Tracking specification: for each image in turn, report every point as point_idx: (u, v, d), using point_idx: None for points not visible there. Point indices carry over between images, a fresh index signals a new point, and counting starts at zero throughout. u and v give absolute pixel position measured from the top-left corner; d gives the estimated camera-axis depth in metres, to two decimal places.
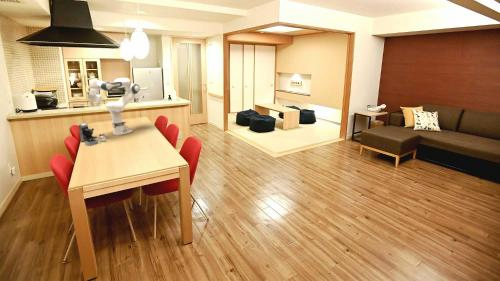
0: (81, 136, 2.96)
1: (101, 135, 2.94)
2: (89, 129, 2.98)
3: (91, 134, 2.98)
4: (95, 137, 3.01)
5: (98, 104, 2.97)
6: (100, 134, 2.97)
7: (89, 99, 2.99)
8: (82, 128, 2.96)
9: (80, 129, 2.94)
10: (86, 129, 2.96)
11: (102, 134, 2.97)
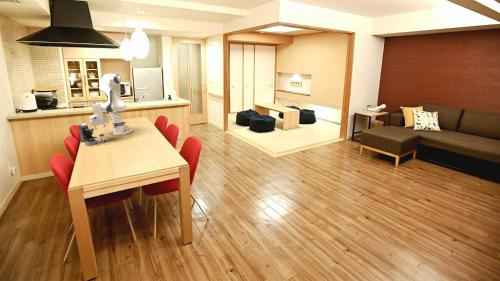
0: (81, 136, 2.96)
1: (101, 135, 2.94)
2: (89, 129, 2.98)
3: (91, 134, 2.98)
4: (95, 137, 3.01)
5: None
6: (100, 134, 2.97)
7: (94, 124, 2.86)
8: (82, 128, 2.96)
9: (80, 129, 2.94)
10: (86, 129, 2.96)
11: (102, 134, 2.97)
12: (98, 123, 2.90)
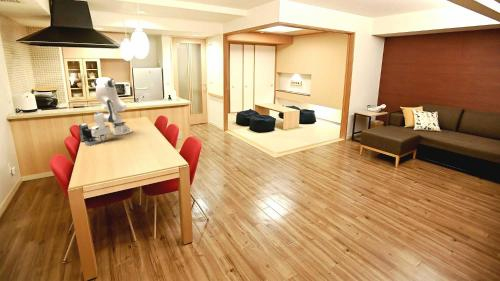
0: (81, 136, 2.96)
1: (101, 135, 2.94)
2: (89, 129, 2.98)
3: (91, 134, 2.98)
4: (95, 137, 3.01)
5: (105, 136, 3.01)
6: None
7: (96, 134, 2.90)
8: (82, 128, 2.96)
9: (80, 129, 2.94)
10: (86, 129, 2.96)
11: None
12: (100, 133, 2.93)
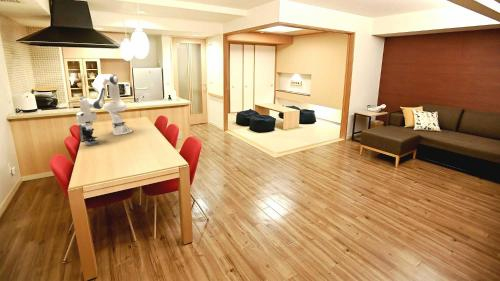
0: (81, 136, 2.96)
1: (87, 122, 2.80)
2: None
3: (91, 134, 2.98)
4: (95, 137, 3.01)
5: (91, 123, 2.86)
6: None
7: (81, 121, 2.75)
8: (82, 128, 2.96)
9: (80, 129, 2.94)
10: (86, 129, 2.96)
11: None
12: (86, 120, 2.79)
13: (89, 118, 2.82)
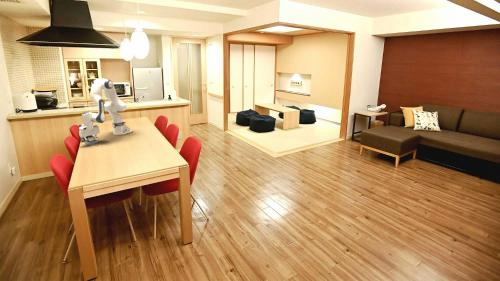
0: None
1: (90, 137, 2.85)
2: None
3: None
4: None
5: (95, 136, 2.92)
6: (89, 136, 2.87)
7: (84, 135, 2.80)
8: None
9: None
10: None
11: (91, 136, 2.87)
12: (88, 134, 2.83)
13: (92, 132, 2.86)
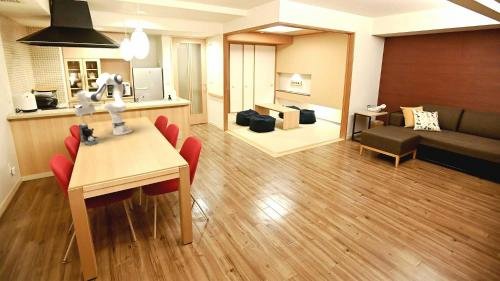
0: (81, 136, 2.96)
1: (89, 137, 2.85)
2: (89, 129, 2.98)
3: (91, 134, 2.98)
4: (95, 137, 3.01)
5: None
6: (88, 136, 2.87)
7: (80, 113, 2.83)
8: (82, 128, 2.96)
9: (80, 129, 2.94)
10: (86, 129, 2.96)
11: (91, 136, 2.87)
12: (84, 112, 2.87)
13: (87, 110, 2.90)
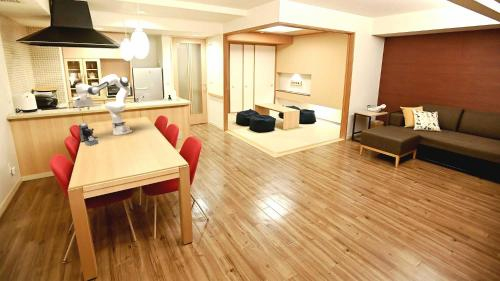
0: (81, 136, 2.96)
1: (90, 137, 2.85)
2: (89, 129, 2.98)
3: (91, 134, 2.98)
4: (95, 137, 3.01)
5: None
6: (89, 136, 2.87)
7: (78, 105, 2.93)
8: (82, 128, 2.96)
9: (80, 129, 2.94)
10: (86, 129, 2.96)
11: (91, 136, 2.87)
12: (82, 104, 2.97)
13: (85, 103, 3.00)
